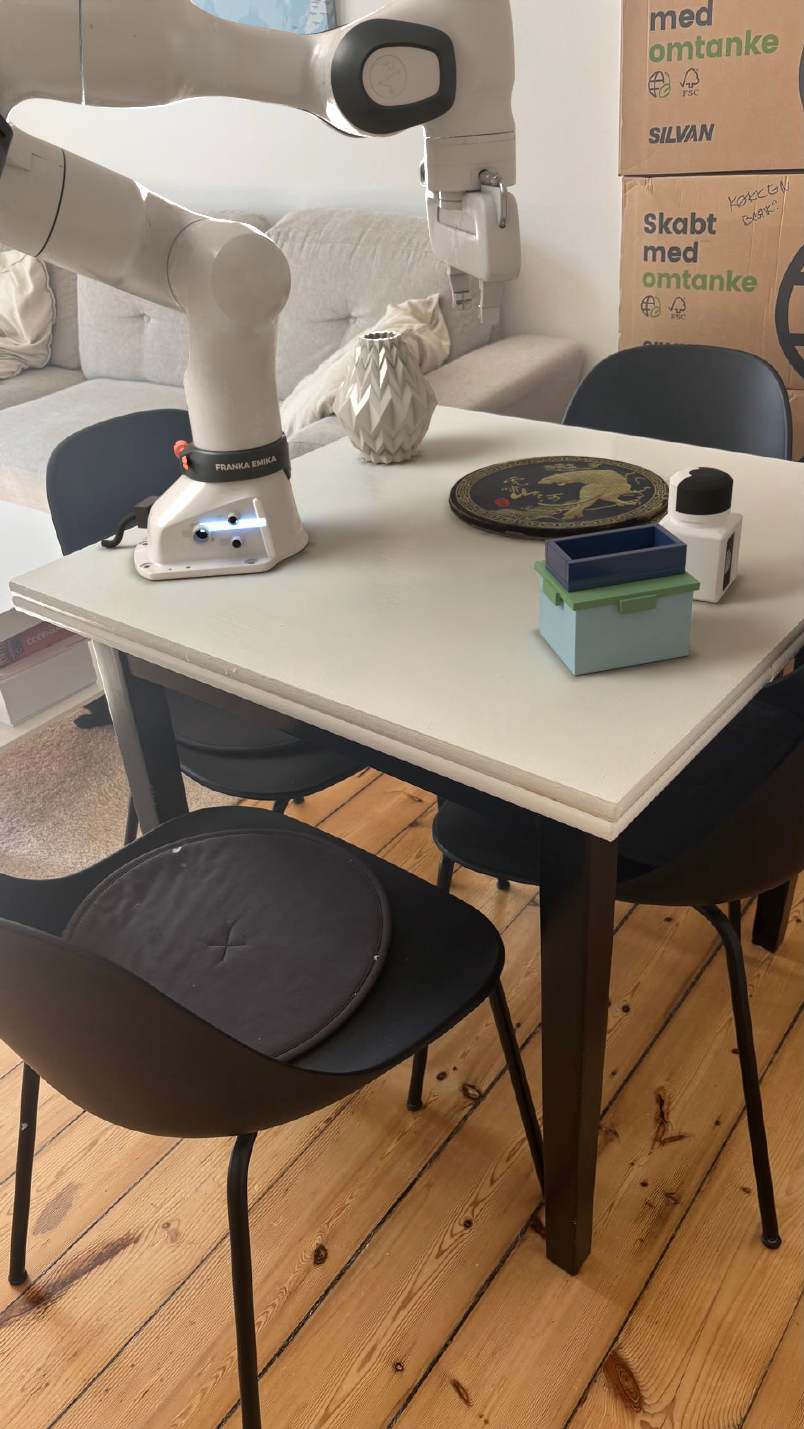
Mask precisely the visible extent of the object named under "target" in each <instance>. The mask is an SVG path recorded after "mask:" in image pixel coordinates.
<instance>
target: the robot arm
mask: <svg viewBox="0 0 804 1429" xmlns="http://www.w3.org/2000/svg"><path fill="white" fill-rule="evenodd" d="M513 24H514V23H513V16H512V8H511V1H510V0H392V1H390V2H389V3H387V4H386V5H384V6H382V7H380V8H378V9H377V10H376V11H373V12H371V13H369V14H368V15H366V16H363V17H362V18H359V19H357V20H355V21H352V22H346V23H342V24H339V25H335V26H332V27H330V28H328V29H325V30H322V31H320V32H315V33H297V32H296V33H295V32H292V31H286V30H280V29H274V28H270V27H269V28H268V27H264V26H258V25H252V24H246V23H241V22H236V21H232V20H227V19H224V18H221V17H218V16H216V15H214V14H212V13H209V12H207V11H206V10H204V9H202V8H201V7H199V6H198V5H196V4H194V3H193V2H192V1H190V0H0V244H1V245H4V246H6V247H8V248H10V249H12V250H15V251H17V252H19V253H22V254H25V255H27V256H30V257H32V258H35V259H36V260H40V261H43V262H46V263H48V264H51V265H53V266H56V267H59V268H61V269H64V270H67V271H70V272H72V273H73V274H77V275H79V276H82V277H85V278H88V279H90V280H94V281H96V282H99V283H101V284H104V285H106V286H109V287H111V288H114V289H117V290H119V291H122V292H125V293H128V294H130V295H133V296H135V297H137V298H140V299H143V300H145V301H148V302H151V303H154V304H156V305H159V306H162V307H164V308H167V309H169V310H171V311H174V312H176V313H180V314H182V315H185V316H186V318H187V323H188V357H187V366H186V368H185V371H184V374H183V378H182V379H183V380H182V382H183V389H184V394H185V401H186V406H187V413H188V418H189V419H188V420H189V424H190V430H191V436H192V441H191V442H189V443H187V441H186V440H183V439H182V440H181V439H180V440H178V441H176V442H175V444H174V445H173V450H174V455H175V457H176V458H177V459H179V466H180V470H181V476H180V477H179V478H177V480H175V482H173V484H171V486H169V488H167V489H166V491H164V493H162V494H161V495H160V496H158V495H149V496H148V497H146V498H144V499H142V500H141V501H140V502H138V503H137V504H135V505H133V511H132V512H130V513H128V514H127V515H125V516H124V517H123V518H122V519H121V520H120V521H119V523H118V524H117V527H116V532H115V536H114V538H113V539H105V538H103V539H102V538H101V541H100V545H101V547H102V548H110V549H112V548H116V547H118V546H119V545H120V544H121V542H122V541H123V538H124V535H125V530H126V528H127V526H129V524H130V523H131V522H133V521H136V524H137V529H142V530H143V529H144V530H146V535H147V536H145V537H144V538H143V539H141V540H140V541H139V542H138V543H137V545H136V547H135V548H134V551H133V561H134V567H135V570H136V572H137V573H138V574H139V575H140V576H142V577H143V578H145V579H148V580H149V581H159V580H160V581H161V580H173V579H185V578H186V579H188V578H198V577H199V578H200V577H211V576H213V577H214V576H223V575H238V574H239V575H240V574H249V573H262V572H266V571H269V570H271V569H272V568H274V567H275V566H276V565H277V564H278V563H279V562H282V561H284V560H285V559H287V558H289V557H292V556H294V555H295V554H298V553H299V552H300V551H302V550H303V549H305V547H306V546H307V544H308V543H309V535H308V533H307V531H306V529H305V526H304V523H303V521H302V518H301V515H300V513H299V509H298V507H297V503H296V498H295V496H294V491H293V486H292V483H291V478H292V460H291V453H290V445H289V441H288V438H287V435H286V432H285V431H284V430H283V426H282V418H281V409H280V400H279V393H278V392H279V391H278V383H277V382H278V381H277V349H278V348H277V347H278V338H279V337H278V336H279V328H280V319H281V314H282V311H283V310H284V309H285V307H286V305H287V303H288V301H289V297H290V294H291V289H292V273H291V268H290V265H289V262H288V258H286V255H285V253H284V252H283V250H282V248H280V246H278V244H277V243H275V241H273V240H272V238H270V237H268V235H266V234H265V233H263V232H262V231H261V230H259V229H257V227H254V226H252V225H250V224H247V223H244V222H240V221H233V220H227V219H220V218H214V217H211V216H208V215H207V216H206V215H203V214H199V213H197V212H194V211H191V210H190V209H188V208H185V207H183V206H181V205H179V204H177V203H176V202H173V201H171V200H169V199H167V198H166V197H163V196H162V195H160V194H158V193H156V192H155V191H153V190H150V189H149V188H147V187H145V186H143V185H142V184H140V183H139V182H137V181H136V180H135V179H133V178H130V177H128V176H126V175H124V174H122V173H119V172H116V171H114V170H112V169H110V168H108V167H105V166H103V165H101V164H99V163H96V162H95V161H92V160H89V159H87V158H85V157H83V156H81V155H78V154H76V153H75V152H72V151H69V150H68V149H65V148H63V147H61V146H58V145H56V144H54V143H51V142H49V141H46V140H44V139H41V138H40V137H39V138H38V137H36V136H33V135H31V134H29V133H28V132H26V131H24V130H22V129H21V128H19V127H18V126H16V125H15V124H14V123H13V122H12V120H11V119H10V118H9V116H10V114H11V112H12V111H13V109H14V108H16V107H17V106H18V105H20V103H22V102H24V101H27V100H33V99H34V100H35V99H38V100H39V99H41V100H53V101H57V102H61V103H62V102H63V103H68V104H69V103H70V104H73V105H74V104H75V105H81V106H83V105H85V106H87V107H93V108H95V107H96V108H106V109H147V108H148V109H149V108H159V107H160V108H161V107H167V106H171V105H175V104H178V103H181V102H185V101H190V100H195V99H199V98H200V99H201V98H211V97H214V98H215V97H218V98H219V97H220V98H230V99H231V98H232V99H236V100H238V99H239V100H243V101H251V102H258V103H263V104H269V105H277V106H283V107H287V108H293V109H297V110H300V111H303V112H306V113H307V114H309V115H311V116H312V117H314V118H315V119H316V120H317V121H319V122H321V123H322V124H323V125H324V126H326V127H328V128H329V129H330V130H332V131H334V132H336V133H338V134H340V135H341V136H345V137H347V138H353V139H366V138H367V139H368V138H390V137H393V136H396V135H398V134H401V133H403V132H404V131H406V130H408V129H411V128H414V127H418V126H421V127H422V129H423V137H424V138H423V142H424V143H423V145H424V154H423V155H424V156H423V158H422V160H421V161H420V164H419V165H418V166H419V167H418V174H419V176H418V177H419V183H420V186H421V187H422V188H426V190H425V206H426V207H425V208H426V216H427V217H426V219H427V226H428V235H429V241H430V242H429V243H430V247H431V251H432V254H433V257H434V259H435V260H436V261H439V262H440V263H443V264H445V265H446V272H447V278H448V281H449V287H450V290H451V296H452V298H451V299H452V308H453V309H455V310H457V311H460V312H462V311H470V310H471V309H472V307H473V301H472V300H473V293H472V291H471V289H470V278H469V276H472V277H473V278H476V279H478V289H479V290H480V302H479V305H477V315H478V318H477V320H478V322H479V323H480V324H481V325H483V326H485V327H490V326H497V325H498V324H499V323H500V305H501V302H502V297H503V294H504V289H505V287H504V284H505V283H504V282H508V281H515V280H517V279H518V278H519V276H520V273H521V268H522V248H521V233H520V232H521V230H520V217H519V208H518V202H517V200H516V197H515V195H514V193H512V192H510V191H508V187H512V186H515V185H516V184H517V141H516V137H517V136H516V123H515V122H516V121H515V118H514V116H513V115H514V114H513V109H512V95H513V94H512V93H513V88H514V85H515V80H516V65H515V64H516V61H515V38H514V26H513Z"/></svg>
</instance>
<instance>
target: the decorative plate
mask: <svg viewBox="0 0 804 1429" xmlns="http://www.w3.org/2000/svg"><path fill="white" fill-rule="evenodd" d="M668 501H669V485H668V483H667V481H665V480H664V479H663V477H662V476H660V475H659V474H657V473H655V472H654V471H652V470H650V469H647V468H645V467H643V466H640V465H637V464H633V463H631V462H630V463H629V462H626V461H623V460H617V459H610V458H604V457H595V456H582V455H547V456H546V455H545V456H533V457H525V458H518V459H512V460H511V459H510V460H507V461H501V462H498V463H493V464H490V465H487V466H484V467H483V466H482V467H481V468H480V467H479V468H478V469H476V470H473V471H471V472H469V473H466V474H465V475H464V476H462V477H460V478H458V480H457V481H456V482H455V483H454V484H453V486H452V487H451V488H450V490H449V496H448V504H449V507H450V510H451V512H452V513H453V514H454V515H455V517H457V518H458V520H460V521H462V522H464V523H465V524H467V525H469V526H472V527H473V528H477V529H480V530H481V531H485V532H488V533H493V534H497V535H500V536H506V537H511V538H519V539H527V540H541V541H545V540H550V539H556V538H563V537H569V536H576V535H582V534H589V533H595V532H602V531H608V530H615V529H621V528H628V527H634V526H641V525H647V524H652V522H655V520H657V519H659V518H660V517H661V516H663V514H664V513H665V512H666V511H668Z"/></svg>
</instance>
